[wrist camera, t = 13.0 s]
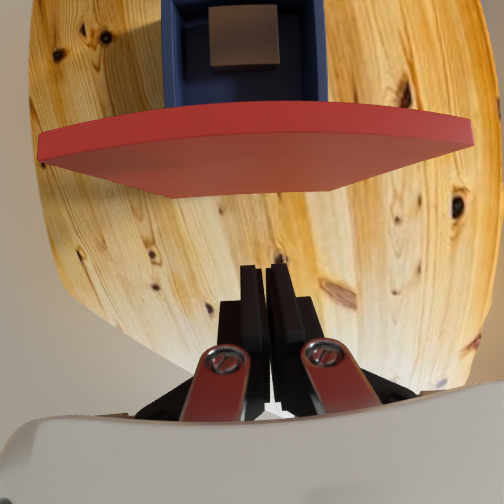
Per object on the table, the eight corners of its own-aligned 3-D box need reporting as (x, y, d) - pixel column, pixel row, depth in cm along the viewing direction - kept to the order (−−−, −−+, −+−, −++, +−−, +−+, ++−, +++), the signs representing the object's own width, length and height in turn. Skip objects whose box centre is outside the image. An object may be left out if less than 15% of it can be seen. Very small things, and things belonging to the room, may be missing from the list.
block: (213, 22, 23) (208, 6, 18) (270, 20, 23) (276, 4, 18) (215, 73, 25) (210, 66, 20) (272, 71, 25) (279, 64, 20)
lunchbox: (177, 15, 23) (161, -8, 17) (305, 10, 23) (322, -14, 17) (186, 173, 29) (172, 191, 23) (309, 167, 30) (328, 184, 24)
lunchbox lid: (37, 133, 7) (36, 161, 7) (471, 118, 7) (475, 146, 7) (170, 187, 23) (171, 198, 23) (329, 180, 23) (330, 191, 23)
